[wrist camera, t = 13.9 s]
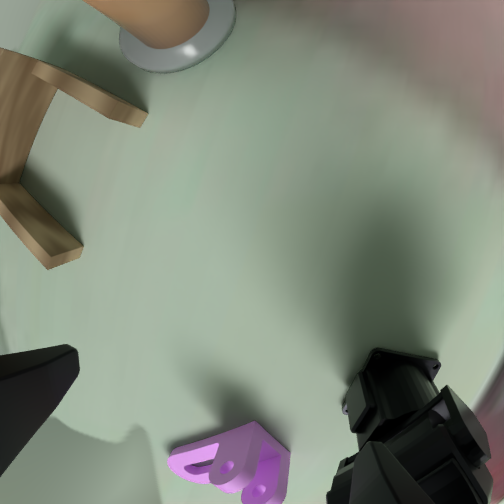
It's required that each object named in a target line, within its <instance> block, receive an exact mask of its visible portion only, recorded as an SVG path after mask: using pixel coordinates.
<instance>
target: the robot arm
mask: <svg viewBox="0 0 504 504" xmlns="http://www.w3.org/2000/svg"><path fill="white" fill-rule="evenodd" d="M378 353H379V355H378V356H375V355H376V354H378ZM434 365H436V366H435V367H433V366H434ZM440 367H441V363H440V362H439V360H437V359H433V358H427V357H422V356H417V355H411V354H406V353H401V352H396V351H391V350H386V349H382V348H375V349H373V350H372V351H371V352H370V355H369V357H368V359H367V361H366V363H365V365H364V367H363V369H362V371H360V372H359V373H357V375H356V377H355V379H354V381H353V383H352V385H351V387H350V389H349V391H348V393H347V394H346V401H345V403H344V405H343V406H342V412H343V414H345V415H348V417H349V424H350V430H351V432H352V433H356V434H357V441H358V447H359V452H358V453H356V454H354V455H353V456H351V457H349V458H348V457H347V458H345V459H343V460H341V461H340V464H339V467H338V470H337V473H336V475H335V476H334V478H333V483H332V487H331V490H330V491H328V492H327V495H326V503H327V504H490V501H491V495H492V488H493V478H492V476H491V474H490V472H489V471H488V469H487V467H486V465H485V463H486V462H487V461H488V460H489V459H491V453H490V448H489V443H488V439H487V435H486V432H485V430H484V429H483V427H482V426H481V424H480V422H479V421H478V419H477V418H476V416H475V415H474V413H473V412H472V411H471V410H470V409H469V407H468V406H467V405H466V404H465V403H464V402H463V401H462V400H461V399H460V398H459V397H458V396H457V395H456V393H455V392H454V391H453V390H452V389H451V388H450V387H449V386H448V385H446V386H445V387H444V388H442V389H441V390H440V391H441V392H440V393H439V391H438V389H437V387H436V386H435V384H434V382H433V380H434V378H435V376H436V374H437V373H438V371H439V369H440ZM79 371H80V366H79V356H78V351H77V349H75V348H74V347H72V346H70V345H68V344H63V345H58V346H53V347H47V348H42V349H36V350H30V351H25V352H19V353H12V354H6V355H0V477H1V475H2V474H3V473H4V471H5V470H6V469H7V468H8V466H9V465H10V464H11V463H12V461H13V460H14V459H15V457H16V456H17V455H18V454H19V452H20V451H21V450H22V449H23V448H24V446H25V445H26V444H27V443H28V441H29V440H30V439H31V438H32V436H33V435H34V434H35V433H36V431H37V430H38V429H39V428H40V427H41V426H42V424H43V423H44V422H45V421H46V420H47V418H48V417H49V416H50V415H51V414H52V412H53V411H54V410H55V409H56V407H57V406H58V405H59V403H60V402H61V400H62V399H63V397H64V396H65V394H66V393H67V391H68V390H69V388H70V387H71V385H72V384H73V382H74V381H75V379H76V378H77V376H78V374H79ZM346 409H347V410H346Z"/></svg>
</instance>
